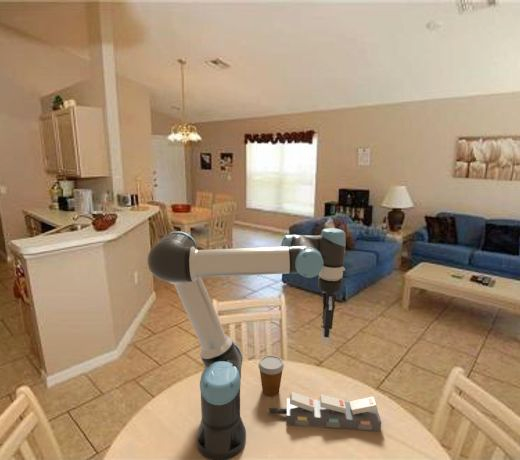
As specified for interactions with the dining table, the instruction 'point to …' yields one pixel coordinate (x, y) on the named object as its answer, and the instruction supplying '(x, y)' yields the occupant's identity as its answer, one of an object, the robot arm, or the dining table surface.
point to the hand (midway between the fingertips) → (325, 343)
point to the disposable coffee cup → (271, 374)
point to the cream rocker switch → (363, 405)
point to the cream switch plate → (332, 403)
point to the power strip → (330, 417)
